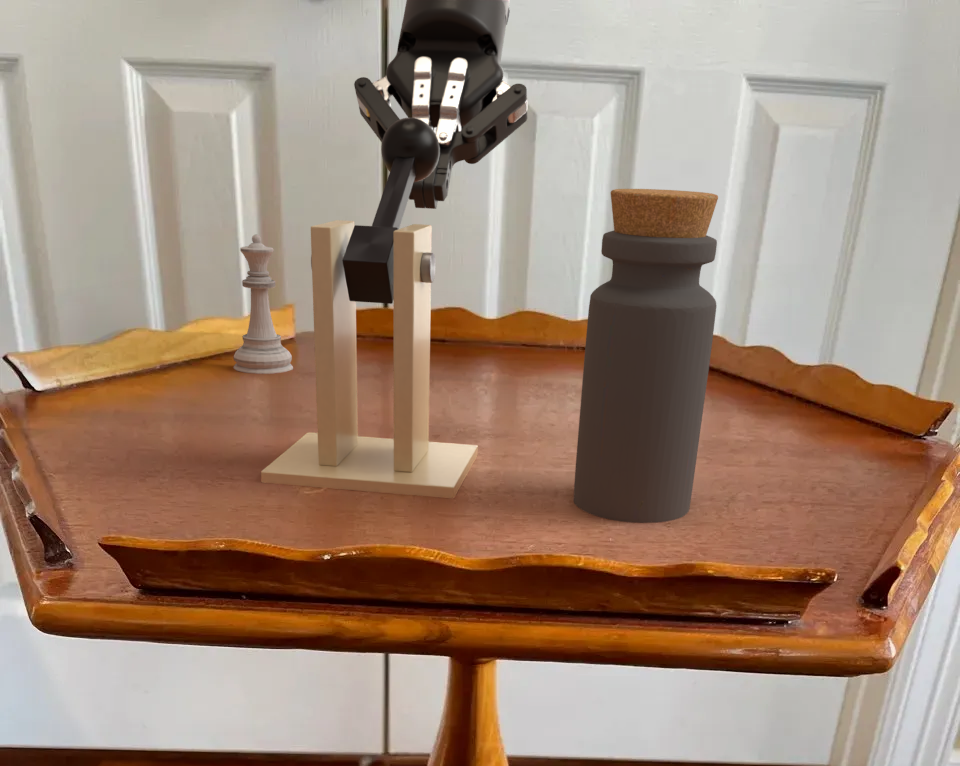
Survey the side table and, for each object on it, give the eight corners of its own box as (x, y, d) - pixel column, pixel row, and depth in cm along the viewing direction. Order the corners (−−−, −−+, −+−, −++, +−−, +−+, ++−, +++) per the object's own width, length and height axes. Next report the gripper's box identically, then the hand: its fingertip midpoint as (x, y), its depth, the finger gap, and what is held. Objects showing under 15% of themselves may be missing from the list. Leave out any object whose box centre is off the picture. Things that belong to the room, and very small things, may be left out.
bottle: (609, 541, 48) (643, 194, 42) (551, 502, 53) (574, 186, 46) (711, 527, 50) (760, 196, 44) (647, 491, 55) (682, 188, 49)
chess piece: (227, 380, 76) (217, 235, 71) (242, 368, 80) (233, 230, 75) (286, 383, 76) (280, 238, 71) (298, 371, 79) (293, 233, 75)
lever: (391, 159, 59) (384, 104, 56) (446, 162, 58) (441, 106, 55) (340, 307, 51) (330, 252, 49) (403, 311, 51) (396, 255, 48)
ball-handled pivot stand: (308, 452, 60) (298, 215, 54) (477, 465, 59) (486, 224, 53) (261, 494, 53) (245, 226, 47) (453, 510, 51) (460, 237, 46)
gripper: (360, -40, 73) (318, 153, 68) (545, -35, 72) (518, 163, 66) (377, 51, 80) (341, 233, 75) (546, 57, 79) (521, 242, 73)
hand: (424, 199), depth 70 cm, fingers closed
